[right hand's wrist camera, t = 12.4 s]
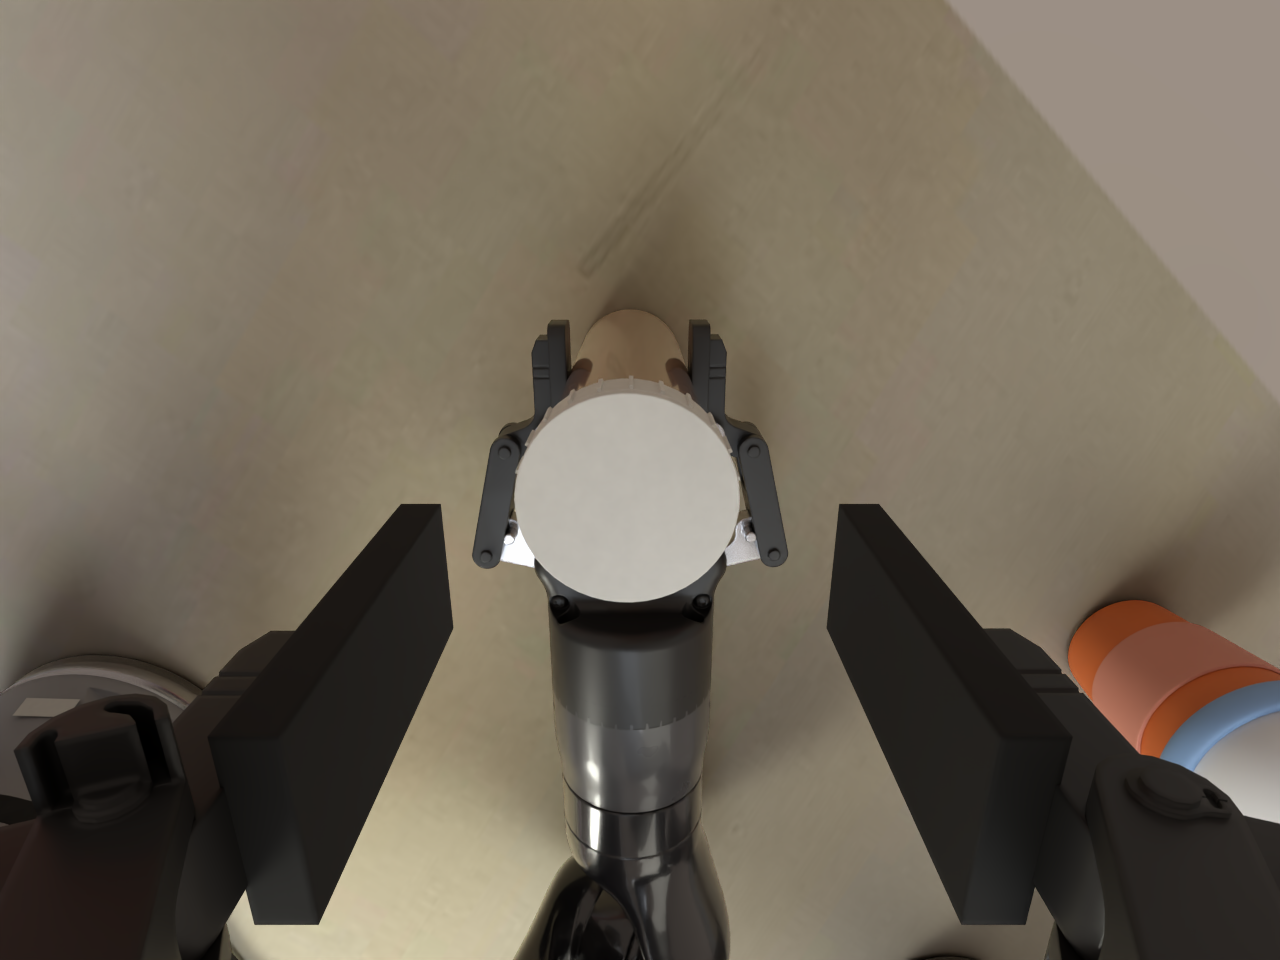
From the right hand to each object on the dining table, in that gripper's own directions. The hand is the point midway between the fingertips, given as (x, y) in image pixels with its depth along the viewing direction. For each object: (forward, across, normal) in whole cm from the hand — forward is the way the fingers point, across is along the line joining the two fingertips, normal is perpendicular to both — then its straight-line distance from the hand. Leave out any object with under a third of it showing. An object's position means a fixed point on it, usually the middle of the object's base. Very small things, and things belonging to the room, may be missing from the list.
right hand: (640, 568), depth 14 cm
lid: (+4, 0, 0) cm, 4 cm away
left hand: (+16, 0, -2) cm, 17 cm away
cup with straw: (+23, -27, +16) cm, 39 cm away
